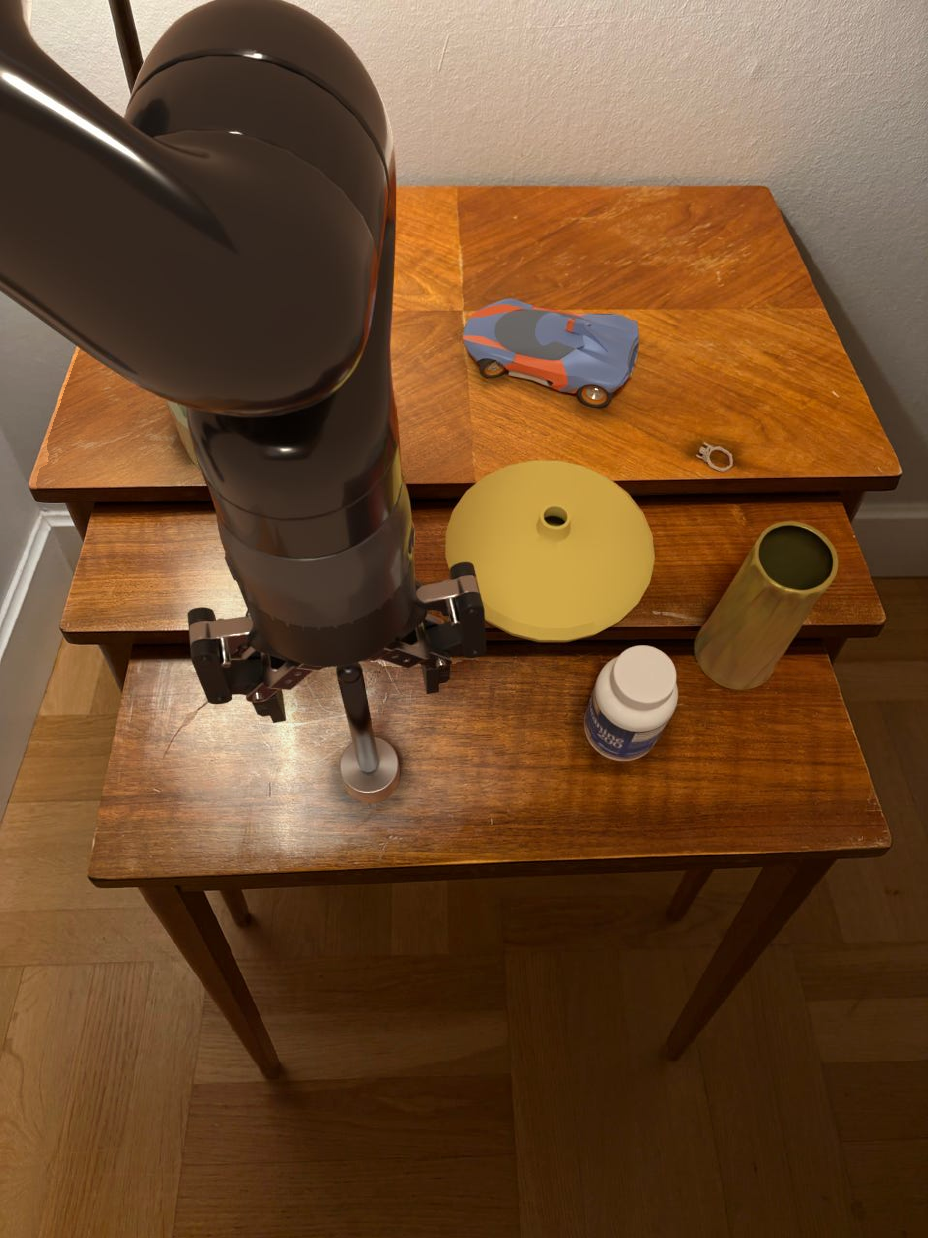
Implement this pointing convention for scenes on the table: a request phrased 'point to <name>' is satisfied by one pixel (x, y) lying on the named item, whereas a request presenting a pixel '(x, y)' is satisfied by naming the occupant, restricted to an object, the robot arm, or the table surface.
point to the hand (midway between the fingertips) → (354, 692)
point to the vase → (765, 605)
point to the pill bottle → (631, 703)
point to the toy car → (554, 347)
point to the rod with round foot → (364, 744)
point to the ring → (710, 448)
